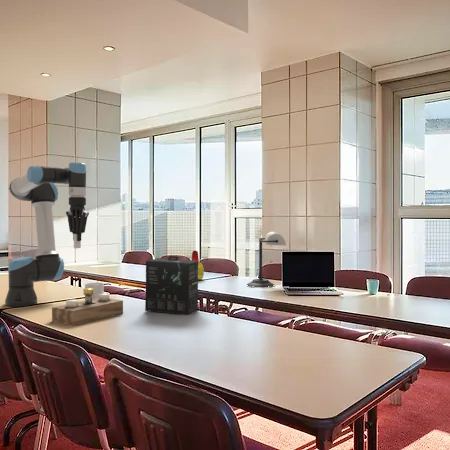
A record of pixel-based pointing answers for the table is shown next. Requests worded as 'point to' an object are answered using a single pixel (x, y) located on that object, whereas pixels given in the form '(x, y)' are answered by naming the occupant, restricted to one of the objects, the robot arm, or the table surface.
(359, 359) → the table surface
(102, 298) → the knob far
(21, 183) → the robot arm
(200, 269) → the bottle
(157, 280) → the headset box
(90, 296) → the pot knob
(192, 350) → the table surface
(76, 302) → the knob near
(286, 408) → the table surface
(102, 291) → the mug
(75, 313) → the mount
